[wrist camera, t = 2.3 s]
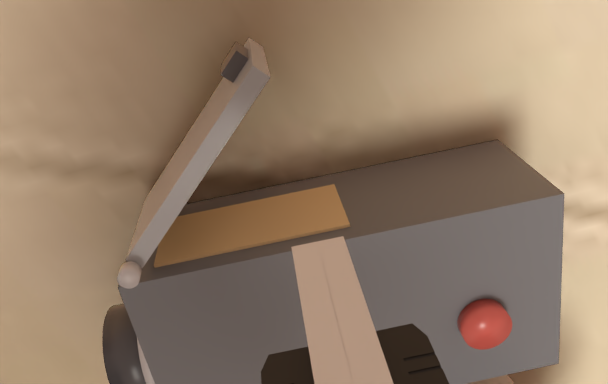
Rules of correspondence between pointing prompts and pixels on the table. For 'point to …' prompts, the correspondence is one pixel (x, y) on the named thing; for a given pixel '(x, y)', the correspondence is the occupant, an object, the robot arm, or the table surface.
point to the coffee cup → (495, 380)
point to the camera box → (368, 266)
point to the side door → (200, 146)
